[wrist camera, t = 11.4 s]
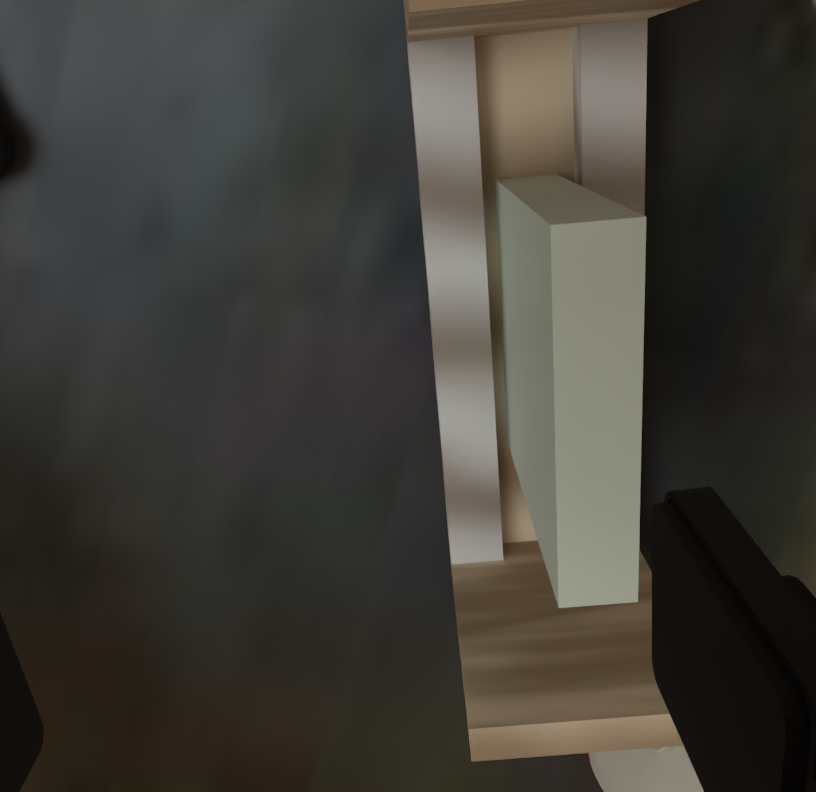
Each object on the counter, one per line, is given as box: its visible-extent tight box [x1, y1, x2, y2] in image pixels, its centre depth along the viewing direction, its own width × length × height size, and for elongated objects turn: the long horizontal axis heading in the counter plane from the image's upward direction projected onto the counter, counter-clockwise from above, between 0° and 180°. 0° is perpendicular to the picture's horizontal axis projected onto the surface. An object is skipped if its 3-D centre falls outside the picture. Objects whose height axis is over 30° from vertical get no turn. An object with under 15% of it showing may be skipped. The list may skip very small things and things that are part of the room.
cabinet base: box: [404, 0, 699, 761], centre depth 29 cm, size 26×9×13 cm, turn 5°
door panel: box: [495, 174, 646, 608], centre depth 29 cm, size 12×3×13 cm, turn 5°
